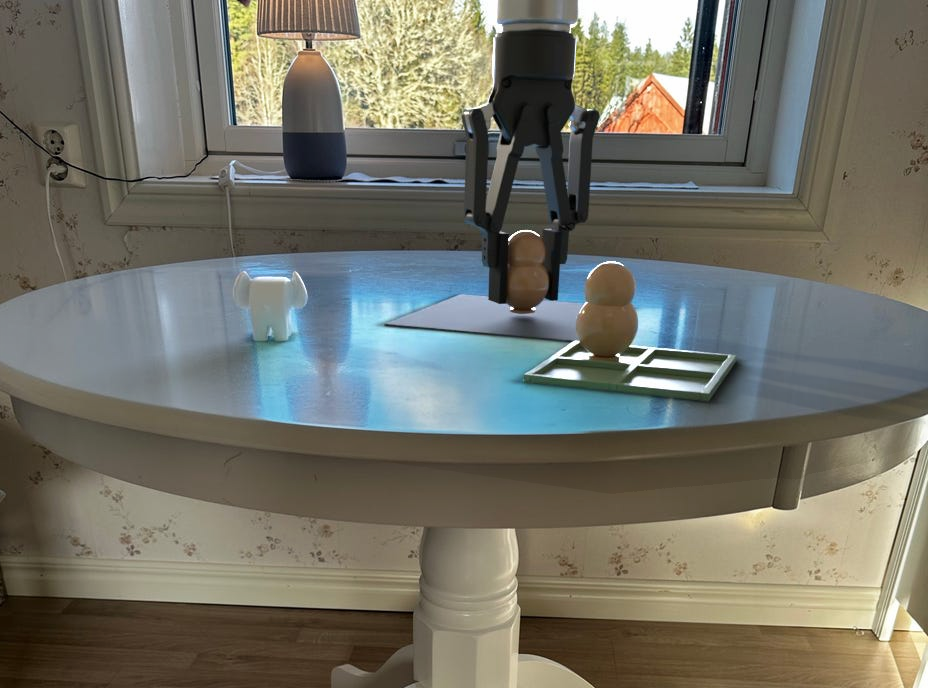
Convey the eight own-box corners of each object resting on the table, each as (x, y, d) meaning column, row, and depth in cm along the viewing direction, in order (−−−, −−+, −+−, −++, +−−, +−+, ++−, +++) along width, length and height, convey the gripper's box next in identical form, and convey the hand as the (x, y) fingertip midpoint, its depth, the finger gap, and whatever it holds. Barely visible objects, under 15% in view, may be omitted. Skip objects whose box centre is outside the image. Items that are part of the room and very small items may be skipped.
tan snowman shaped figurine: (554, 309, 99) (559, 229, 96) (538, 317, 95) (543, 234, 91) (507, 305, 101) (510, 226, 97) (489, 313, 97) (492, 231, 93)
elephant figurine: (314, 331, 93) (310, 266, 90) (305, 348, 86) (301, 278, 83) (244, 331, 92) (238, 265, 90) (229, 348, 85) (222, 278, 83)
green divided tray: (735, 365, 81) (736, 354, 81) (707, 406, 69) (709, 393, 69) (573, 350, 86) (574, 340, 85) (522, 386, 74) (523, 374, 74)
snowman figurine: (640, 355, 83) (650, 260, 79) (626, 367, 78) (636, 267, 75) (582, 349, 84) (589, 256, 81) (565, 361, 80) (572, 263, 76)
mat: (631, 311, 103) (631, 306, 103) (580, 346, 87) (581, 341, 87) (460, 298, 110) (460, 294, 110) (384, 329, 94) (384, 323, 94)
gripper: (601, 37, 92) (582, 289, 104) (426, 29, 86) (427, 299, 97) (643, 31, 86) (619, 301, 97) (458, 23, 80) (455, 311, 91)
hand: (523, 299), depth 97 cm, fingers closed on tan snowman shaped figurine, 5 cm apart
